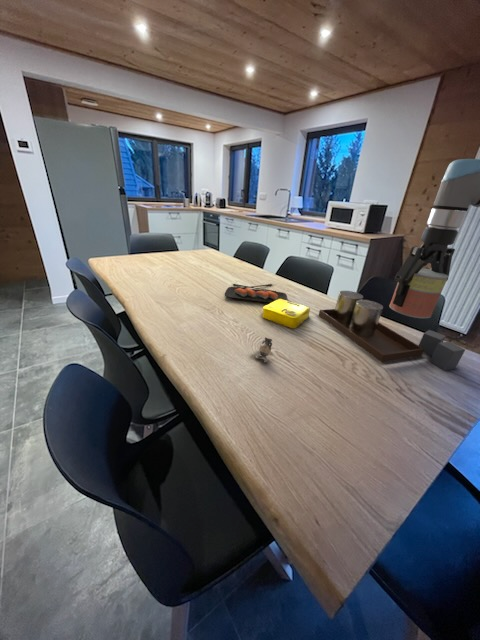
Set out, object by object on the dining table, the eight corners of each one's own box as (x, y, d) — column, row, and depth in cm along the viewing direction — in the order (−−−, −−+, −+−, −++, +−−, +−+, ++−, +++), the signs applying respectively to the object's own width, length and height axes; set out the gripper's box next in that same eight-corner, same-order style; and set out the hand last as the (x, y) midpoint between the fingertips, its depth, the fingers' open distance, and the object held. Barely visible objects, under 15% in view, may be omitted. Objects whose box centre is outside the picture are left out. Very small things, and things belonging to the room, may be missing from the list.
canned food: (437, 313, 80) (454, 275, 74) (422, 321, 73) (440, 280, 68) (398, 300, 87) (411, 265, 82) (382, 307, 81) (395, 268, 76)
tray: (420, 357, 87) (424, 349, 86) (380, 364, 82) (383, 355, 80) (351, 314, 116) (353, 307, 114) (318, 316, 110) (319, 309, 109)
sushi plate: (222, 299, 120) (223, 291, 118) (233, 280, 146) (233, 274, 145) (287, 307, 117) (288, 299, 115) (285, 286, 144) (286, 280, 142)
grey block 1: (437, 353, 90) (446, 335, 87) (432, 358, 87) (441, 339, 84) (421, 347, 94) (429, 329, 91) (416, 351, 91) (423, 333, 88)
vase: (262, 350, 84) (264, 333, 81) (276, 357, 81) (279, 340, 78) (251, 356, 80) (253, 339, 77) (266, 364, 77) (269, 346, 74)
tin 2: (379, 335, 97) (389, 308, 92) (359, 338, 94) (368, 310, 90) (362, 324, 105) (370, 299, 100) (343, 326, 102) (351, 300, 97)
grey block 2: (455, 368, 83) (465, 349, 80) (444, 370, 81) (454, 351, 78) (440, 359, 87) (449, 341, 84) (429, 361, 85) (438, 342, 82)
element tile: (309, 317, 109) (312, 306, 107) (294, 329, 98) (296, 318, 96) (278, 307, 117) (279, 296, 115) (260, 317, 106) (261, 306, 104)
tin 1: (360, 323, 106) (368, 298, 101) (342, 325, 103) (349, 299, 98) (345, 314, 113) (352, 290, 109) (328, 315, 110) (334, 290, 106)
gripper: (457, 227, 77) (428, 297, 86) (397, 223, 69) (372, 301, 79) (486, 231, 70) (451, 306, 80) (422, 227, 63) (392, 311, 72)
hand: (412, 304), depth 79 cm, fingers closed on canned food, 11 cm apart
